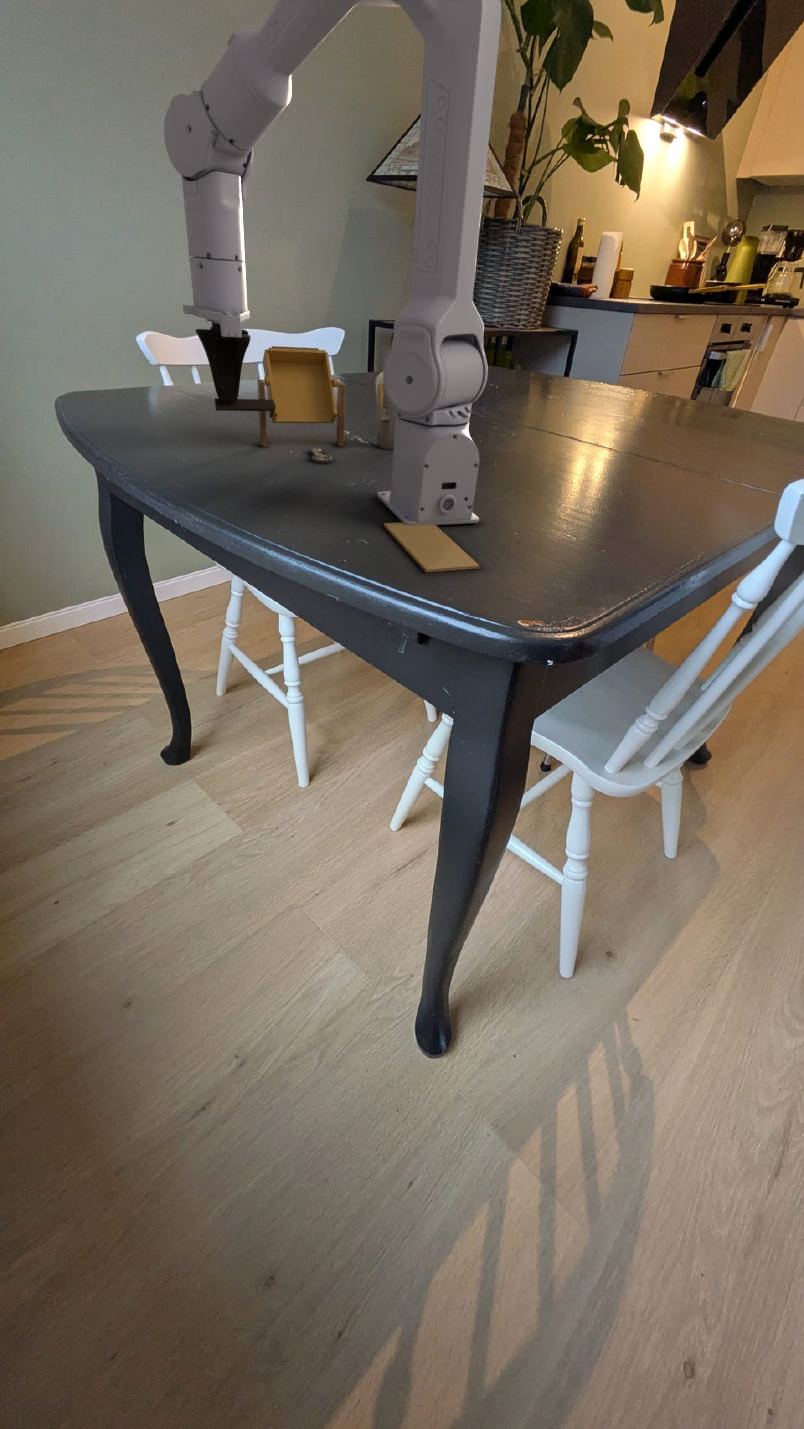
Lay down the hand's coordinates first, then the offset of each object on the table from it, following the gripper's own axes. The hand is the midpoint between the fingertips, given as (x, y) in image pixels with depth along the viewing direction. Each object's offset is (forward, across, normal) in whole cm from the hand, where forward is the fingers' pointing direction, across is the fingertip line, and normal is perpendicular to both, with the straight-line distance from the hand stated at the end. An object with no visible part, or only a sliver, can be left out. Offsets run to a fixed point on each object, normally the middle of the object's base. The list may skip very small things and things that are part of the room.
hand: (227, 400), depth 75 cm
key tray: (0, -5, +6) cm, 8 cm away
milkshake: (+6, -2, +22) cm, 22 cm away
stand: (+6, -2, +10) cm, 11 cm away
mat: (+6, +33, +13) cm, 36 cm away
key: (+5, +3, +10) cm, 12 cm away
